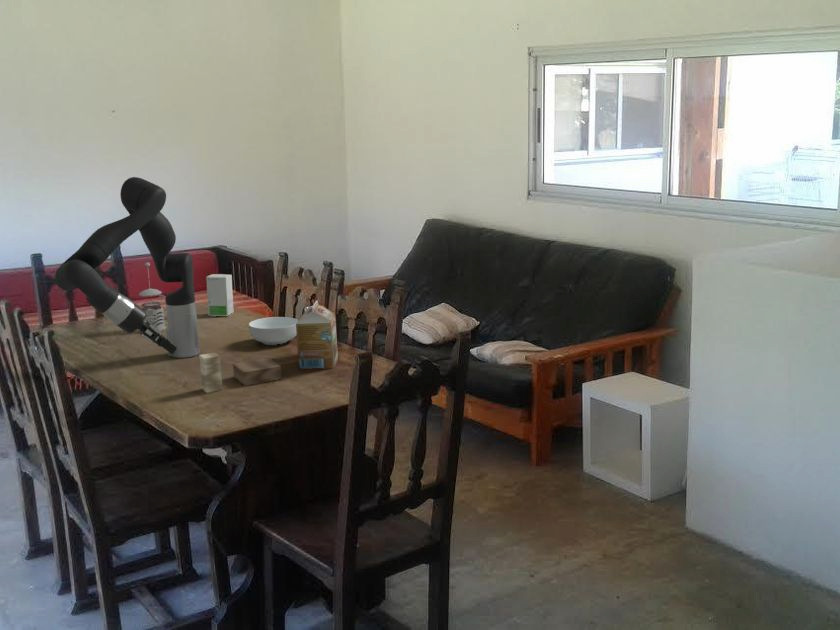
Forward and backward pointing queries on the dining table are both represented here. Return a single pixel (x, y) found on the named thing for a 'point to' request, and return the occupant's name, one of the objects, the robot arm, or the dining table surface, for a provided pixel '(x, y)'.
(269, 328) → the cereal bowl
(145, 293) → the french press
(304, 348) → the milk carton
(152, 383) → the dining table surface
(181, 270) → the robot arm
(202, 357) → the beech block
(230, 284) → the skincare box
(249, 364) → the walnut base
